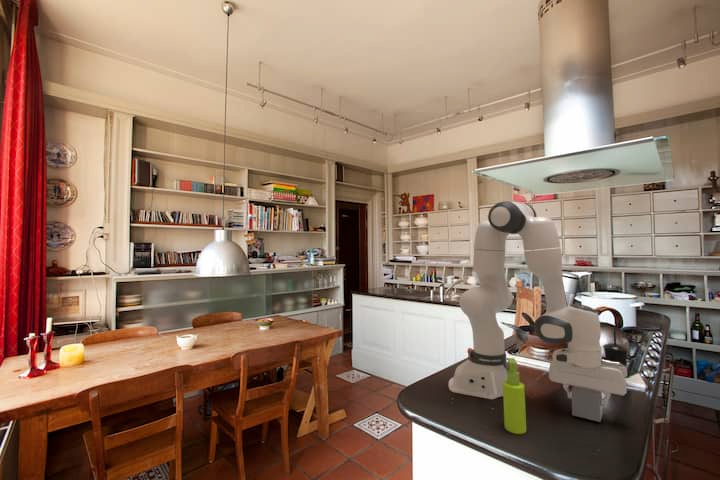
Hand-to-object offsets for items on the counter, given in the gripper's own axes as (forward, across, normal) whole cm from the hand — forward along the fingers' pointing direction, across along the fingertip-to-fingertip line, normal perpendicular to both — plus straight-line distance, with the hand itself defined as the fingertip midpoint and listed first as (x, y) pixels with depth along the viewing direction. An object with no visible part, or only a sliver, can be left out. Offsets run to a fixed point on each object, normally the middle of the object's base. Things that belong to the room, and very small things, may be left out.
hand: (586, 401), depth 107 cm
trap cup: (+4, 0, 0) cm, 4 cm away
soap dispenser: (+5, +16, +20) cm, 26 cm away
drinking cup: (+5, -6, -36) cm, 37 cm away
